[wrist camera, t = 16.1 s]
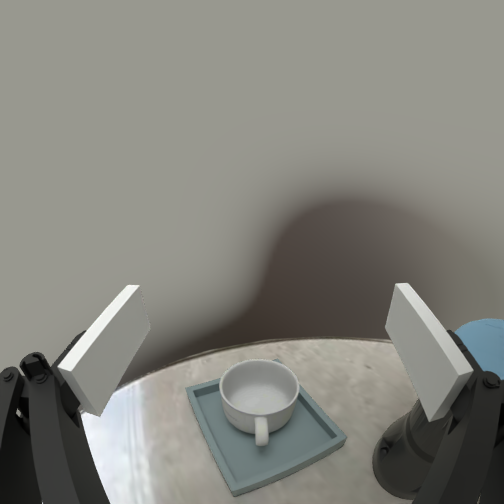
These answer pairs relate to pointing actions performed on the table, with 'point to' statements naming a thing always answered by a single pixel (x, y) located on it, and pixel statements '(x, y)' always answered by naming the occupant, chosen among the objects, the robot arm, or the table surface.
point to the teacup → (259, 396)
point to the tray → (279, 444)
